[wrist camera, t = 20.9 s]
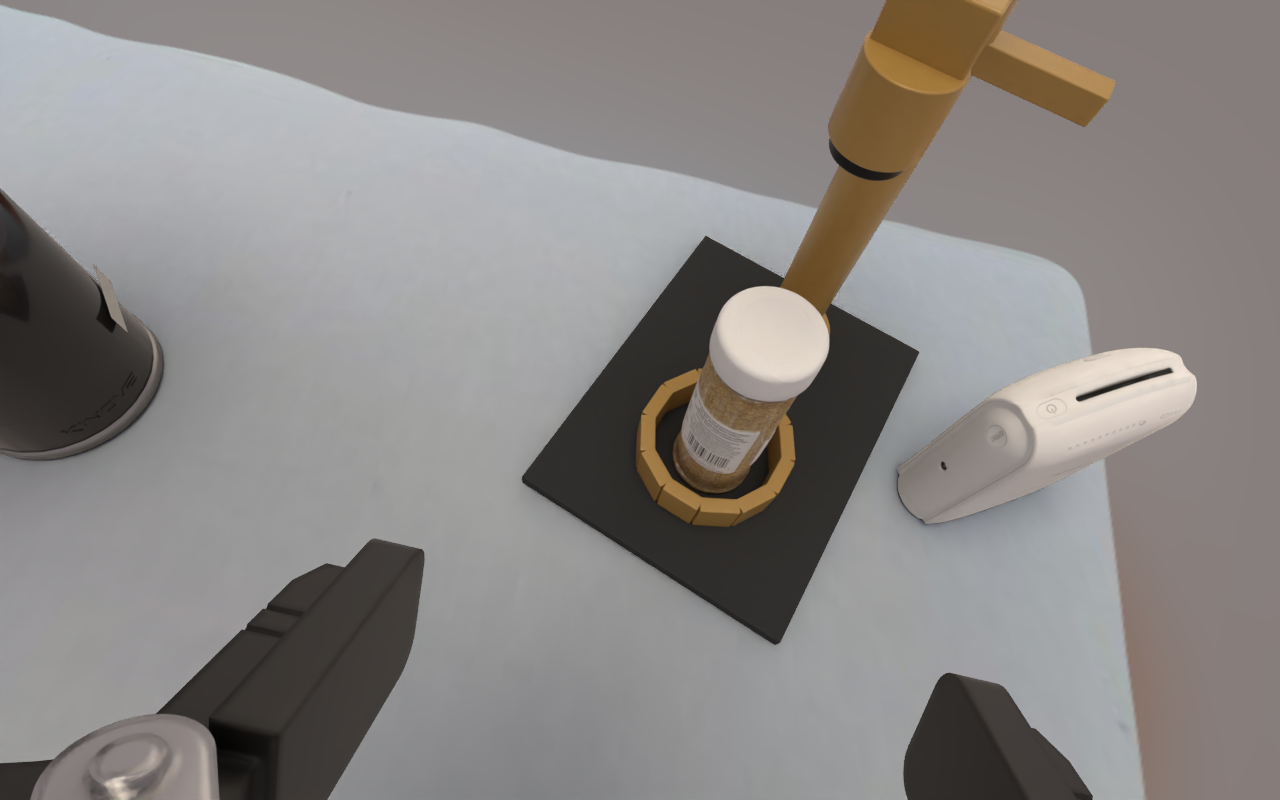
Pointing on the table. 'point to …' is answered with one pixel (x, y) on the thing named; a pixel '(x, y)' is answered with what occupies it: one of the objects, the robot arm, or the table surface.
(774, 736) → the table surface
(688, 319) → the drip mat
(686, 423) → the sprinkles bottle
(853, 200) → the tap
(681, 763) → the table surface
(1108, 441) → the photo printer
